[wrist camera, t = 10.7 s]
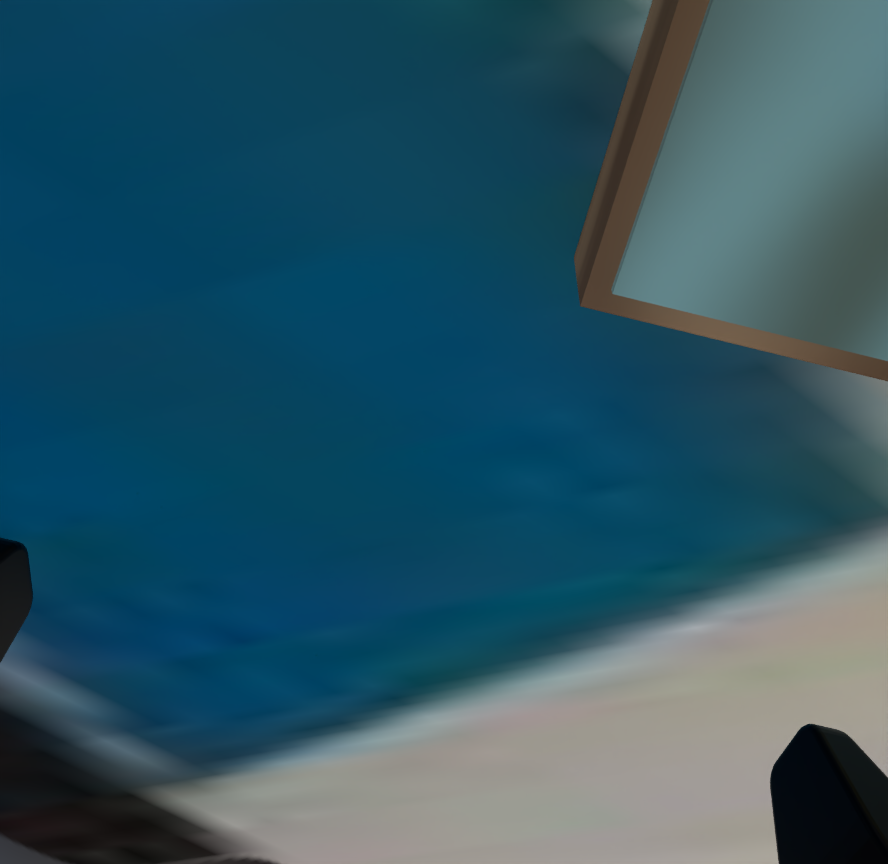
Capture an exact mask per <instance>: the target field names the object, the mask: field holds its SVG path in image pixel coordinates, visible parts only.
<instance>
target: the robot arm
mask: <svg viewBox="0 0 888 864" xmlns="http://www.w3.org/2000/svg"><path fill="white" fill-rule="evenodd" d="M32 599H33V591H32V583H31V574H30V566H29V558H28V552H27V549H26V547H25V546H24V545H23V544H22V543H20V542H17V541H13V540H8V539H4V538H0V662H1V661H2V659H3V657H4V656H5V654H6V652H7V650H8V649H9V647H10V645H11V643H12V642H13V640H14V638H15V637H16V635H17V633H18V631H19V630H20V628H21V626H22V624H23V623H24V621H25V619H26V617H27V616H28V613H29V611H30V608H31V605H32ZM770 789H771V798H772V807H773V816H774V825H775V834H776V843H777V852H778V861H779V864H888V777H887V776H886V775H885V774H884V773H883V772H882V771H881V770H880V769H879V768H878V767H877V766H876V764H875V763H874V762H873V761H872V760H871V759H870V758H869V757H868V756H867V755H866V754H865V753H864V751H863V750H862V749H861V748H860V747H859V746H858V745H857V744H856V743H855V742H854V741H853V740H852V739H851V738H850V737H849V736H848V735H847V734H846V733H844V732H842V731H840V730H836V729H832V728H828V727H823V726H819V725H815V724H807V725H805V726H803V727H801V729H800V730H799V731H798V732H797V734H796V735H795V736H794V738H793V739H792V740H791V742H790V743H789V745H788V746H787V747H786V749H785V750H784V751H783V753H782V754H781V756H780V757H779V758H778V760H777V761H776V763H775V764H774V766H773V769H772V772H771V778H770Z"/></svg>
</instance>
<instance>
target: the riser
mask: <svg viewBox="0 0 888 864" xmlns="http://www.w3.org/2000/svg"><path fill="white" fill-rule="evenodd" d="M574 261H575V269H576V276H577V284H578V292H579V300H580V306H582V307H586V308H590V309H594V310H598V311H602V312H606V313H611V314H615V315H619V316H623V317H627V318H631V319H635V320H639V321H643V322H647V323H651V324H656V325H660V326H664V327H668V328H672V329H676V330H680V331H684V332H688V333H692V334H696V335H701V336H705V337H709V338H713V339H717V340H721V341H725V342H729V343H733V344H737V345H741V346H746V347H750V348H754V349H758V350H762V351H766V352H770V353H774V354H778V355H782V356H787V357H791V358H795V359H799V360H803V361H807V362H811V363H815V364H819V365H823V366H827V367H832V368H836V369H840V370H844V371H848V372H852V373H856V374H860V375H864V376H868V377H872V378H877V379H881V380H885V381H888V0H653V1H652V4H651V8H650V11H649V14H648V18H647V21H646V24H645V27H644V31H643V34H642V37H641V40H640V44H639V47H638V50H637V53H636V57H635V60H634V63H633V66H632V70H631V73H630V76H629V80H628V83H627V86H626V89H625V93H624V96H623V99H622V102H621V106H620V109H619V112H618V115H617V119H616V122H615V125H614V128H613V132H612V135H611V138H610V142H609V145H608V148H607V151H606V155H605V158H604V161H603V164H602V168H601V171H600V174H599V177H598V181H597V184H596V187H595V190H594V194H593V197H592V200H591V204H590V207H589V210H588V213H587V217H586V220H585V223H584V226H583V230H582V233H581V236H580V239H579V243H578V246H577V249H576V252H575V256H574Z"/></svg>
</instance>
